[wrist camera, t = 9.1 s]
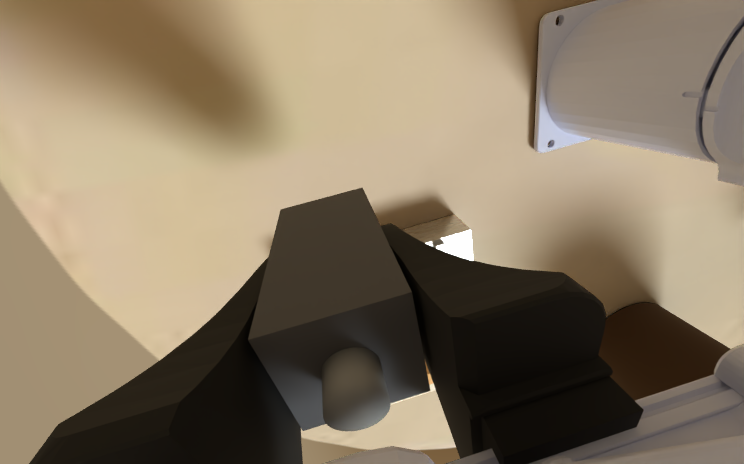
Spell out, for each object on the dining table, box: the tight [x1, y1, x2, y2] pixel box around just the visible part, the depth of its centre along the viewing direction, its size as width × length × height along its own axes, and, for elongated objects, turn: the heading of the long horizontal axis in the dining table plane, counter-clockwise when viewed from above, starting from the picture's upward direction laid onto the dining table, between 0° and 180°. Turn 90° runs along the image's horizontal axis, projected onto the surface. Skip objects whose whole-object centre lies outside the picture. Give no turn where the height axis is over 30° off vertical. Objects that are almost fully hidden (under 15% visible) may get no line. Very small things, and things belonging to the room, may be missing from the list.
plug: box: [248, 188, 430, 431], centre depth 10 cm, size 4×4×8 cm
